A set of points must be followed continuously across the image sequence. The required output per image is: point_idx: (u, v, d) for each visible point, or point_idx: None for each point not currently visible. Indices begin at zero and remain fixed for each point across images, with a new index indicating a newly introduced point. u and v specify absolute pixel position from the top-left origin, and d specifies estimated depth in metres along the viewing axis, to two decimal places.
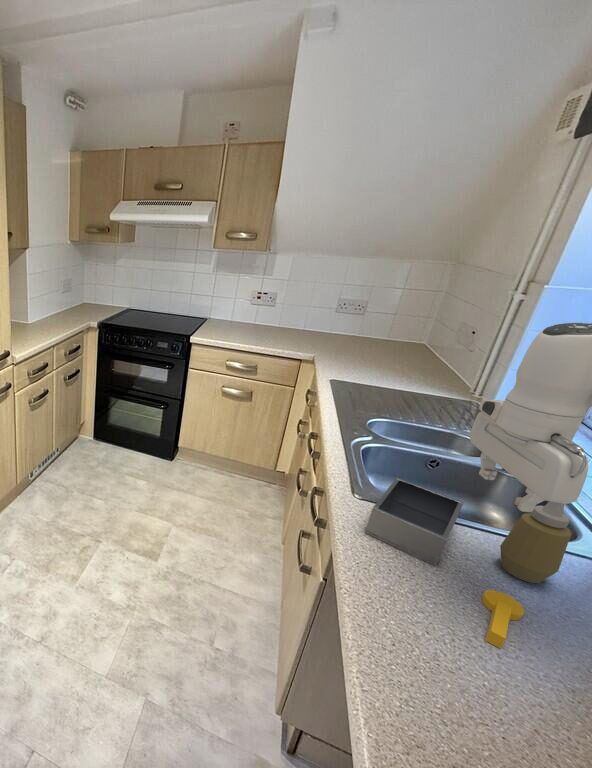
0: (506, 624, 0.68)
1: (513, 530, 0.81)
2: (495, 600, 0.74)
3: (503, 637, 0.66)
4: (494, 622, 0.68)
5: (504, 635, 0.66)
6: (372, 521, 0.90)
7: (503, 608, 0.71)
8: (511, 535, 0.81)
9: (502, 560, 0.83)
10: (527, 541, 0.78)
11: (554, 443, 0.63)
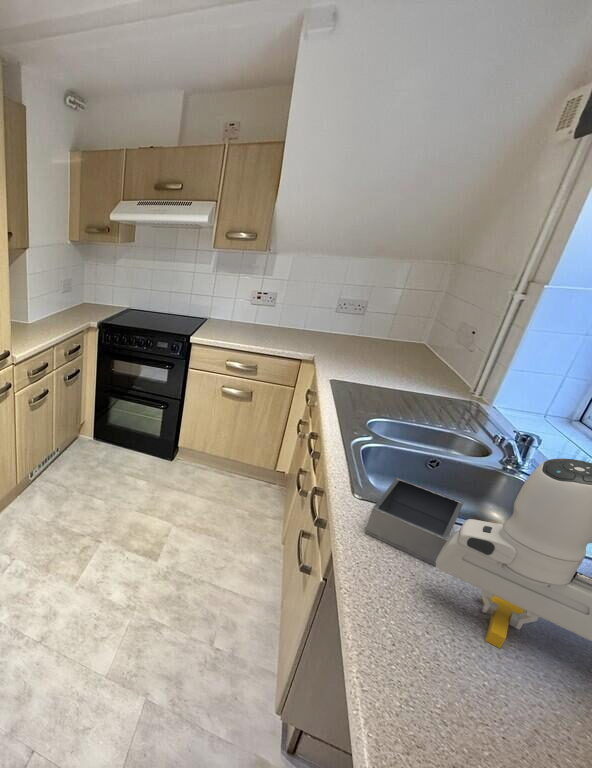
0: (506, 624, 0.68)
1: None
2: (495, 600, 0.74)
3: (503, 637, 0.66)
4: (494, 622, 0.68)
5: (504, 635, 0.66)
6: (372, 521, 0.90)
7: (503, 608, 0.71)
8: None
9: None
10: None
11: (579, 583, 0.62)
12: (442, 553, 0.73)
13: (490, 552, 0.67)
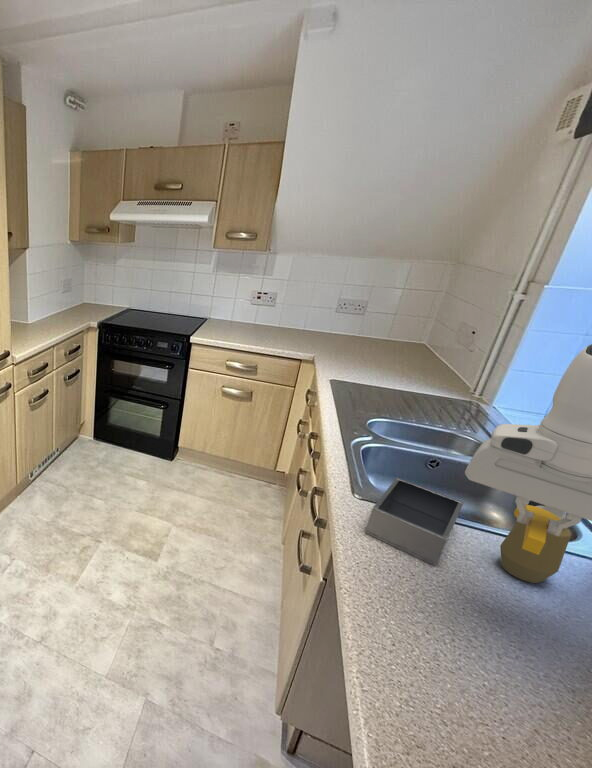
0: (544, 531, 0.63)
1: (513, 530, 0.81)
2: None
3: (542, 542, 0.61)
4: (531, 529, 0.63)
5: (543, 540, 0.61)
6: (372, 521, 0.90)
7: (539, 517, 0.66)
8: (511, 535, 0.81)
9: (502, 560, 0.83)
10: None
11: None
12: (472, 461, 0.68)
13: (527, 450, 0.61)
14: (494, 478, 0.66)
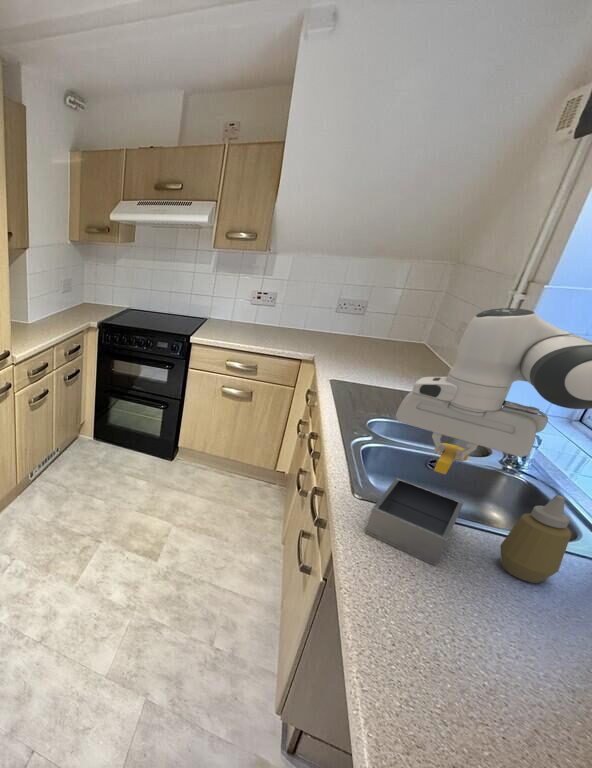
0: (451, 457, 0.81)
1: (513, 530, 0.81)
2: None
3: (447, 463, 0.79)
4: (441, 456, 0.82)
5: (448, 462, 0.80)
6: (372, 521, 0.90)
7: (451, 449, 0.84)
8: (511, 535, 0.81)
9: (502, 560, 0.83)
10: (527, 541, 0.78)
11: (507, 409, 0.75)
12: (400, 406, 0.86)
13: (437, 394, 0.80)
14: (416, 418, 0.85)
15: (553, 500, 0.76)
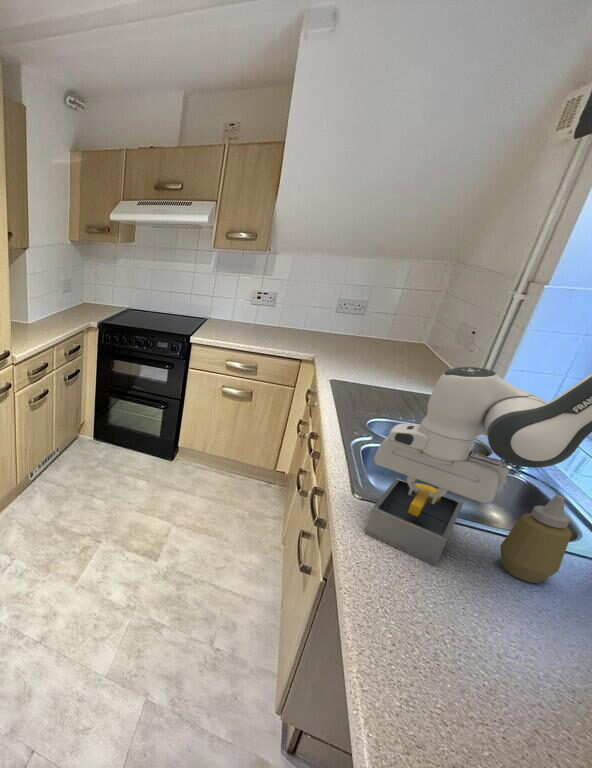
0: (424, 500, 0.88)
1: (513, 530, 0.81)
2: (420, 489, 0.94)
3: (419, 507, 0.86)
4: (415, 499, 0.88)
5: (420, 506, 0.86)
6: (372, 521, 0.90)
7: (424, 492, 0.91)
8: (511, 535, 0.81)
9: (502, 560, 0.83)
10: (527, 541, 0.78)
11: (473, 459, 0.82)
12: (378, 450, 0.92)
13: (410, 442, 0.86)
14: (392, 463, 0.91)
15: (553, 500, 0.76)
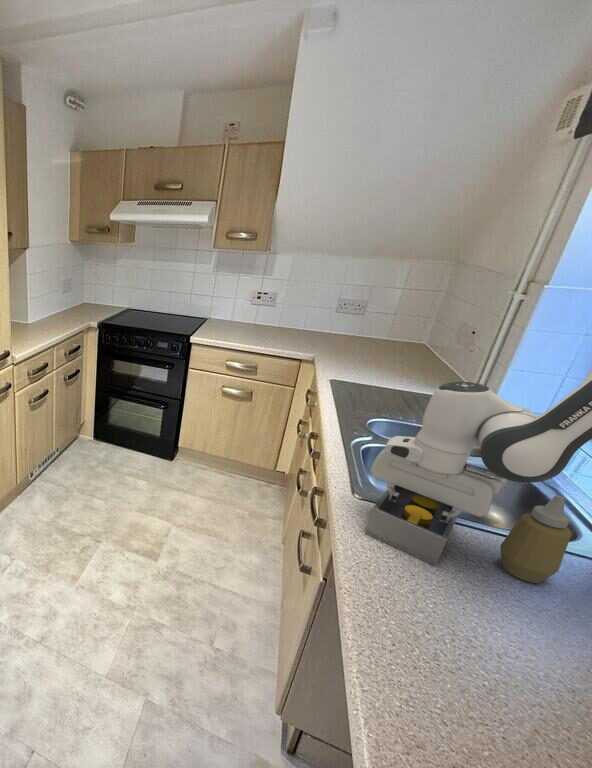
0: (415, 523, 0.90)
1: (513, 530, 0.81)
2: (412, 511, 0.96)
3: None
4: None
5: None
6: (372, 521, 0.90)
7: (416, 514, 0.93)
8: (511, 535, 0.81)
9: (502, 560, 0.83)
10: (527, 541, 0.78)
11: (468, 473, 0.83)
12: (374, 462, 0.94)
13: (406, 455, 0.87)
14: (388, 475, 0.92)
15: (553, 500, 0.76)
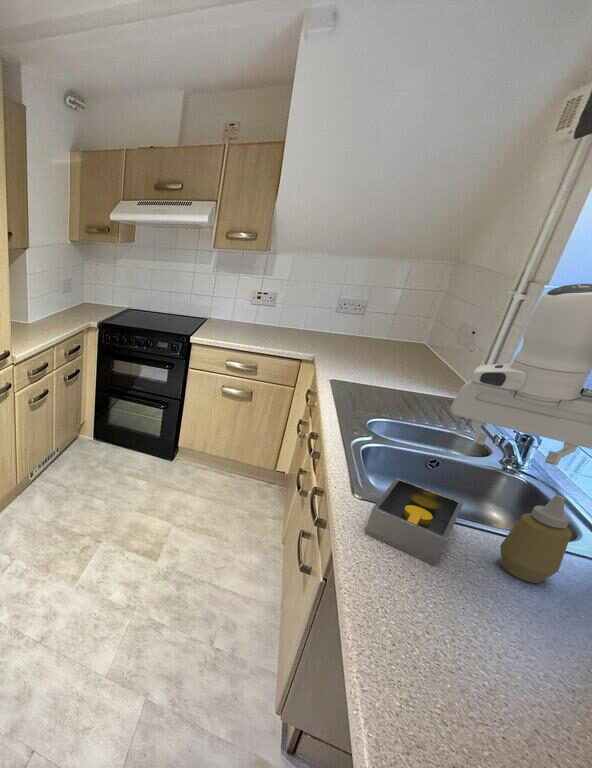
0: (415, 523, 0.90)
1: (513, 530, 0.81)
2: (412, 511, 0.96)
3: None
4: None
5: None
6: (372, 521, 0.90)
7: (416, 514, 0.93)
8: (511, 535, 0.81)
9: (502, 560, 0.83)
10: (527, 541, 0.78)
11: (586, 398, 0.67)
12: (457, 397, 0.78)
13: (502, 382, 0.72)
14: (475, 411, 0.76)
15: (553, 500, 0.76)
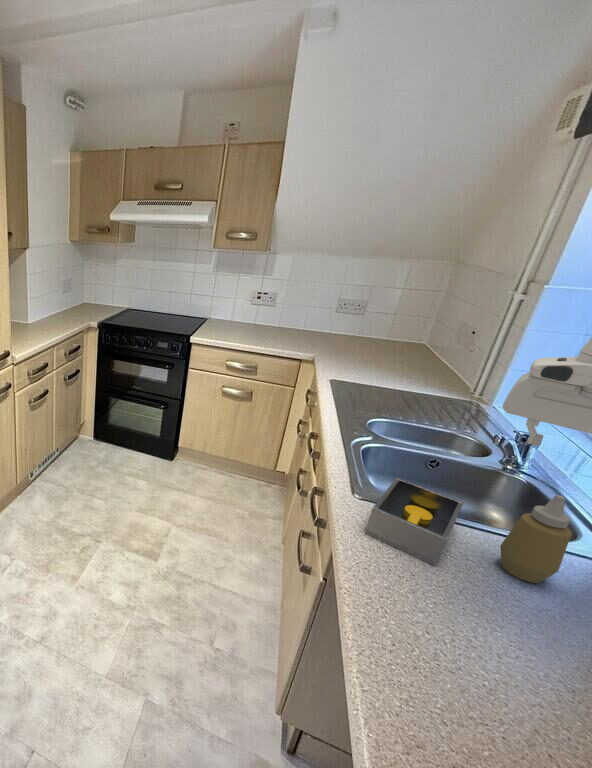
0: (415, 523, 0.90)
1: (513, 530, 0.81)
2: (412, 511, 0.96)
3: None
4: None
5: None
6: (372, 521, 0.90)
7: (416, 514, 0.93)
8: (511, 535, 0.81)
9: (502, 560, 0.83)
10: (527, 541, 0.78)
11: None
12: (511, 393, 0.70)
13: (568, 377, 0.64)
14: (532, 409, 0.69)
15: (553, 500, 0.76)
